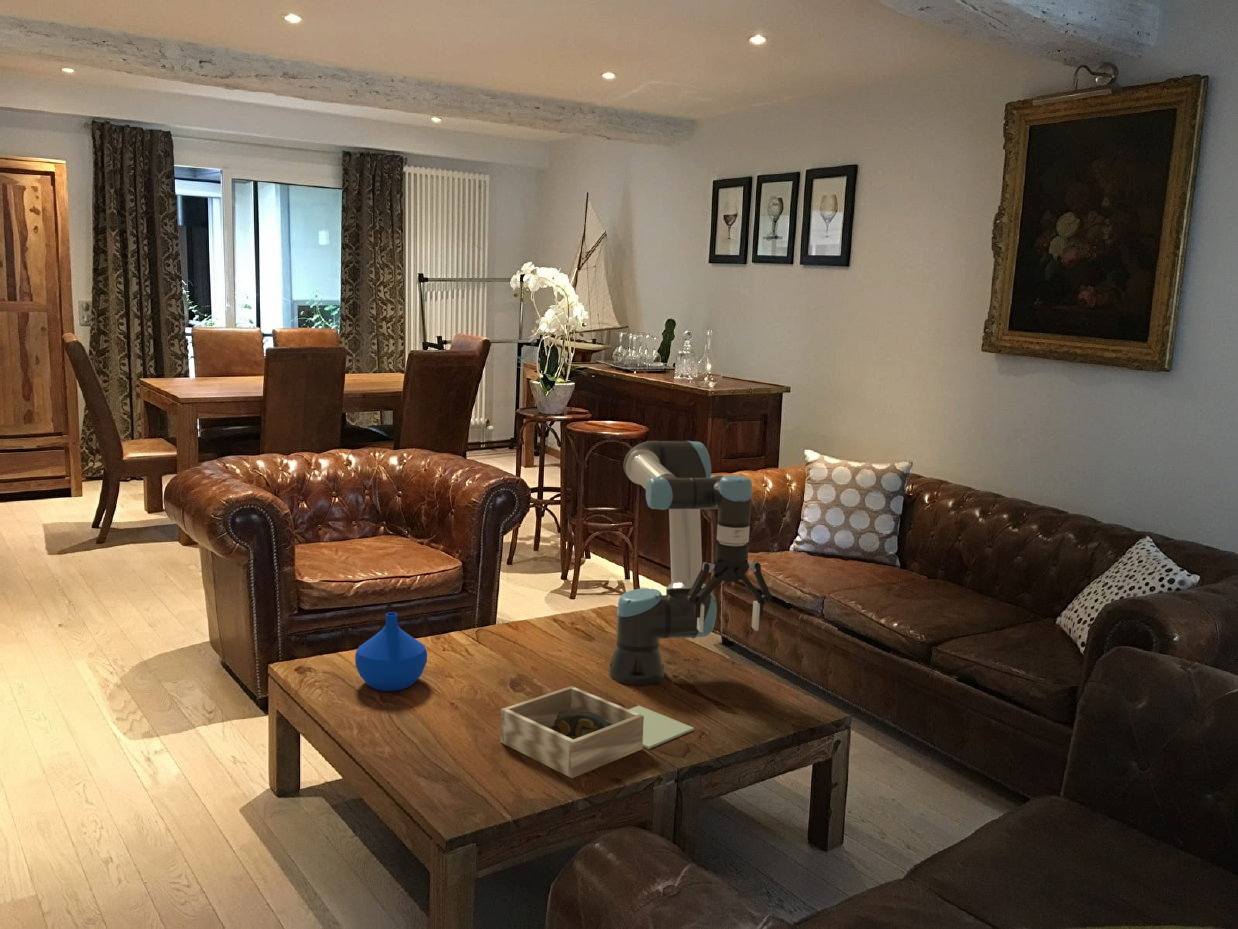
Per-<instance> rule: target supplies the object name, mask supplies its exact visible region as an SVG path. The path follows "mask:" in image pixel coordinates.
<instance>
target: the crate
mask: <svg viewBox="0 0 1238 929" xmlns="http://www.w3.org/2000/svg"><path fill="white" fill-rule="evenodd" d="M629 709H630V708H629ZM629 709H628V708H626V707H623V706H621V705H619V704H616V703H614V702H612V701H609V700H607V699H605V698H602V697H600V696H598V695H595V694H591V693H589V692H588V691H585V690H583V689H580V688H578V687H575V686H573V685H571V686H567V687H564V688H560V689H558V690H555V691H551V692H548V693H546V694H543V695H540V696H537V697H535V698H531V699H528V700H525V701H522V702H519V703H516V704H513V705H510V706H507V707H503V708H501V709H500V743H501V744H504V745H505V746H507V747H509V748H511V749H513V750H516V751H517V752H519V753H521V754H523V755H525V756H527V757H529V758H530V759H533V760H534V761H537V762H538V763H541V764H542V765H545V766H547V767H549V768H551V769H553V770H554V771H557V772H558V773H561V774H563V775H565V776H566V777H569V778H571V779H574V778H576V777H579V776H582V775H584V774H586V773H588V772H591V771H593V770H596V769H598V768H601V767H602V766H605V765H607V764H609V763H612V762H614V761H617V760H619V759H622V758H623V757H624V758H625V757H627V756H629V755H631V754H633V753H636V752H639V751H641V750H643V748H644V747H643V723H644V716H643V715H641V714H638V713H636V712H633V711H631V710H629ZM565 710H584V711H590V712H593V713H595V714H597V715H599V716H601V717H602V718H603V719H604V720H605V721H607V722H610V723H612V724H613V725H610V726H608V727H605V728H603V729H600V730H597V731H595V732H592V733H589V734H587V735H584V736H582V737H579V738H576V739H574V740H573V739H571V738H569V737H567V736H565V735H563V734H560V733H558V731H556V730H553V729H552V727H554V726H555V725H554V722H555V719H557V715H558V714H559V712H561V711H565ZM555 727H556V726H555Z"/></svg>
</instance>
